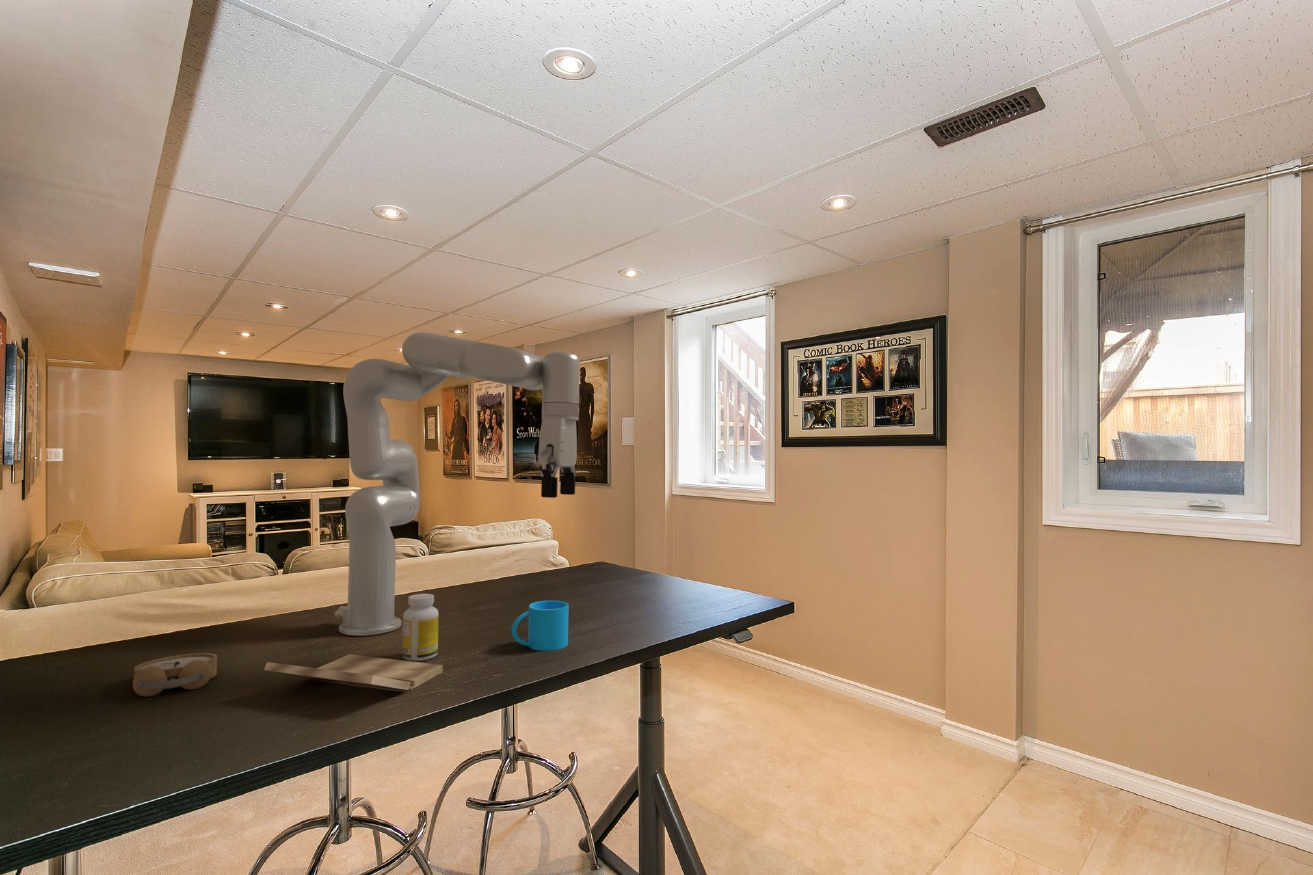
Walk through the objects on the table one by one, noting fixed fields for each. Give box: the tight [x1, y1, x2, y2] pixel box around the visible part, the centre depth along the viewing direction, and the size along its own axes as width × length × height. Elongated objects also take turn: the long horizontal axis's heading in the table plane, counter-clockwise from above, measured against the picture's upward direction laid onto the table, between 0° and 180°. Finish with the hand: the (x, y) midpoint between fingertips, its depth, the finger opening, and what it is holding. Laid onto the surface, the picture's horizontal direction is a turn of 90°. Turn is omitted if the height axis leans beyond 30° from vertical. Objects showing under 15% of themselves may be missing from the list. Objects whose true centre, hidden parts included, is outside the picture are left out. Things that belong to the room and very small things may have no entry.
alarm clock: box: [132, 652, 219, 698], centre depth 103 cm, size 11×5×15 cm
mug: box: [511, 600, 570, 652], centre depth 126 cm, size 12×8×8 cm
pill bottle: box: [401, 593, 440, 662], centre depth 118 cm, size 6×6×12 cm
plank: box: [263, 661, 411, 691], centre depth 99 cm, size 20×10×1 cm, turn 75°
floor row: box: [317, 653, 444, 691], centre depth 108 cm, size 20×9×1 cm, turn 75°
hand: (558, 495), depth 126 cm, fingers open, 9 cm apart
